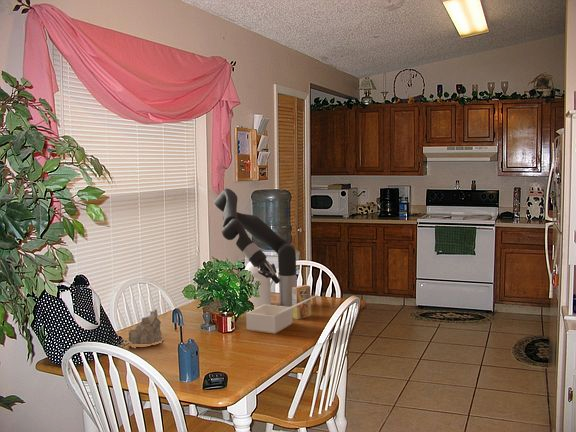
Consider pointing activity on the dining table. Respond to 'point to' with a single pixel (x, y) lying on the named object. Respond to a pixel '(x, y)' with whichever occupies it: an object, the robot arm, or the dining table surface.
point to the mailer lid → (297, 304)
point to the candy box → (299, 296)
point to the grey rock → (147, 330)
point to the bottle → (263, 289)
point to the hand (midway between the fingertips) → (278, 282)
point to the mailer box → (268, 319)
